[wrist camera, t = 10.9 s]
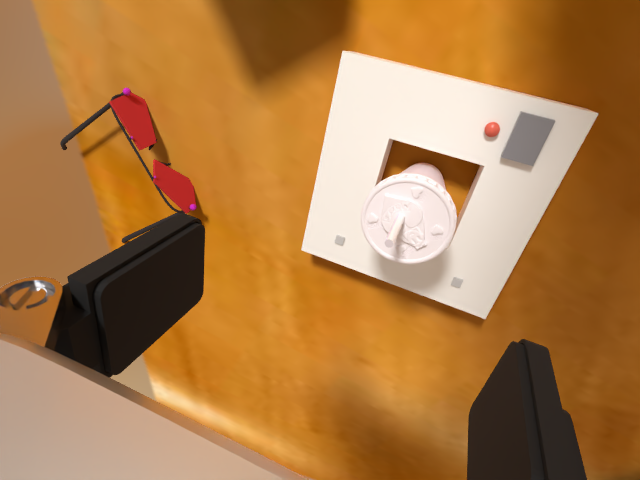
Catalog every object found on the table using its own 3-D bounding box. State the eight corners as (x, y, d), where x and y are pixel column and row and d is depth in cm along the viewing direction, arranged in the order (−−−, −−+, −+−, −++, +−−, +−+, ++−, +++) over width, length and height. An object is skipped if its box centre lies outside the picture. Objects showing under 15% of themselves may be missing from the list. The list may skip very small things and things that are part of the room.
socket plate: (353, 51, 31) (340, 50, 28) (586, 108, 27) (601, 114, 24) (312, 237, 40) (299, 252, 37) (484, 300, 36) (485, 323, 33)
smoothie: (434, 131, 31) (410, 175, 19) (475, 193, 32) (477, 272, 20) (372, 173, 35) (320, 232, 23) (411, 228, 35) (380, 313, 24)
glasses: (211, 202, 43) (182, 217, 39) (126, 241, 51) (94, 258, 47) (145, 84, 40) (106, 87, 35) (64, 146, 47) (24, 154, 43)
